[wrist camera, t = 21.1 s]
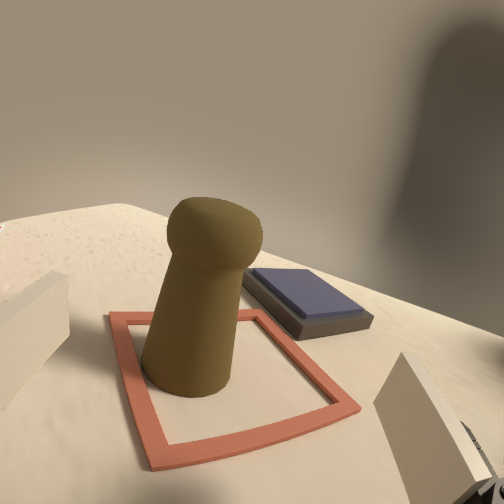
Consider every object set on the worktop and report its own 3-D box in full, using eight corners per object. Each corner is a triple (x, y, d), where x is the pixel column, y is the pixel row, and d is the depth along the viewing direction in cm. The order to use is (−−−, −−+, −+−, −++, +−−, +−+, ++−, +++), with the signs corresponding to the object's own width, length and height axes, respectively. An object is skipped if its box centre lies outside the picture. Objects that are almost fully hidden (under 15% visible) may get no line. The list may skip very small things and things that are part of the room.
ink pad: (369, 328, 32) (376, 312, 31) (298, 340, 26) (305, 321, 26) (304, 280, 41) (308, 266, 41) (237, 280, 36) (241, 264, 36)
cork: (124, 349, 19) (145, 184, 16) (192, 331, 24) (224, 191, 21) (177, 410, 16) (218, 219, 13) (248, 377, 20) (299, 221, 17)
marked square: (359, 411, 19) (362, 407, 19) (152, 471, 11) (152, 467, 11) (260, 312, 30) (261, 308, 30) (109, 315, 23) (109, 311, 23)
